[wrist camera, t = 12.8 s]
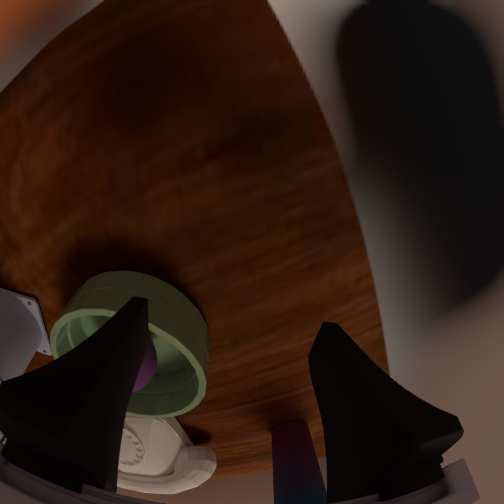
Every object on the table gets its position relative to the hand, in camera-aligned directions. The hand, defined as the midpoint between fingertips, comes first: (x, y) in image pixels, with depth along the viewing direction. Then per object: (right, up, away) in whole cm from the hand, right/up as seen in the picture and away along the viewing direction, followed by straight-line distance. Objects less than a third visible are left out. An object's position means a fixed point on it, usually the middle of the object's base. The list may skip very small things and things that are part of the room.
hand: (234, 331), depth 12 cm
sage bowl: (-10, -4, +13) cm, 17 cm away
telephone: (-15, -22, +22) cm, 34 cm away
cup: (+6, -21, +23) cm, 31 cm away
